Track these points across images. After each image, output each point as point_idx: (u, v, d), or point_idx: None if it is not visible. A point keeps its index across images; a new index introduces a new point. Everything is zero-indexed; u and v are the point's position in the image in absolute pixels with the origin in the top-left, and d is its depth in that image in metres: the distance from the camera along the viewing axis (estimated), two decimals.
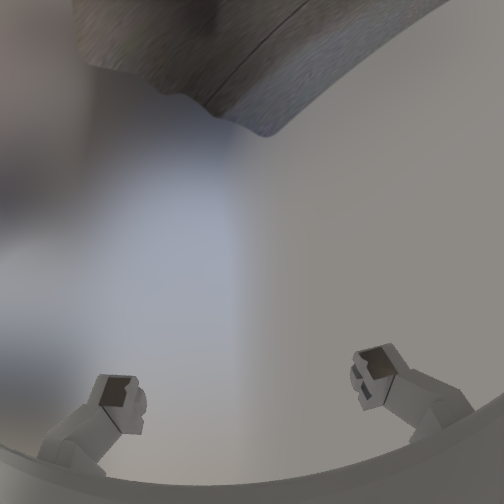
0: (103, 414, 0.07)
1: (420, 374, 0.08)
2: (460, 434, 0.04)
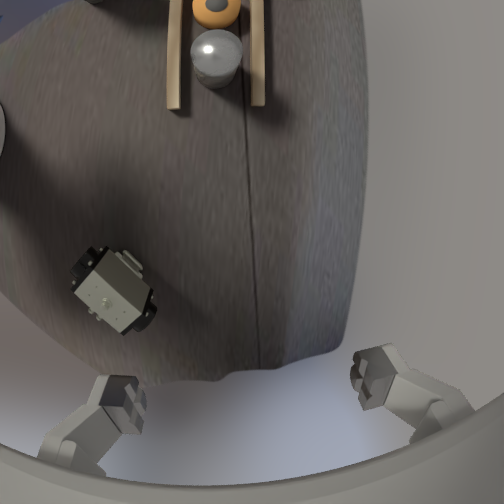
0: (103, 414, 0.07)
1: (420, 374, 0.08)
2: (460, 434, 0.04)
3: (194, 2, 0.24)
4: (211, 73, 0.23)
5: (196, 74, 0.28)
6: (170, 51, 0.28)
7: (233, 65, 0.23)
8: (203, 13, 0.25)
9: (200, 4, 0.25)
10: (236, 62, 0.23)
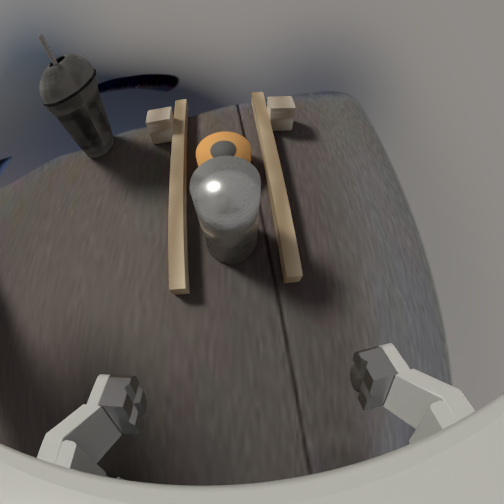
0: (103, 414, 0.07)
1: (420, 374, 0.08)
2: (460, 434, 0.04)
3: (197, 150, 0.30)
4: (220, 215, 0.19)
5: (205, 238, 0.25)
6: (172, 212, 0.28)
7: (250, 200, 0.19)
8: None
9: (204, 152, 0.30)
10: (254, 195, 0.19)
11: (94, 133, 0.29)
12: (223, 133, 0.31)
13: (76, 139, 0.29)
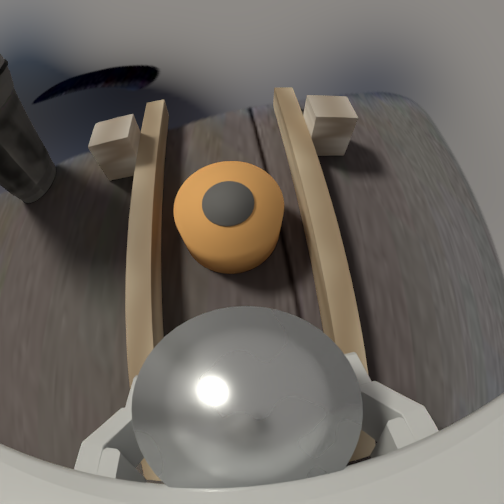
0: None
1: (381, 387, 0.07)
2: (460, 434, 0.04)
3: (177, 204, 0.15)
4: None
5: None
6: (133, 339, 0.13)
7: None
8: (200, 233, 0.15)
9: (190, 208, 0.15)
10: (341, 460, 0.05)
11: (15, 168, 0.15)
12: (228, 164, 0.16)
13: None
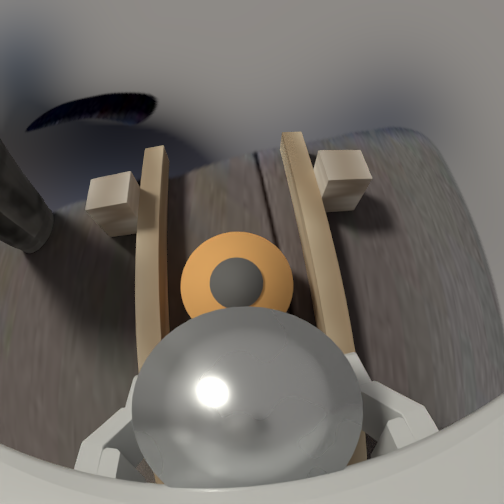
0: None
1: (381, 387, 0.07)
2: (460, 434, 0.04)
3: (184, 282, 0.15)
4: None
5: None
6: None
7: None
8: None
9: (198, 288, 0.15)
10: (341, 461, 0.05)
11: (10, 225, 0.15)
12: (235, 236, 0.16)
13: None
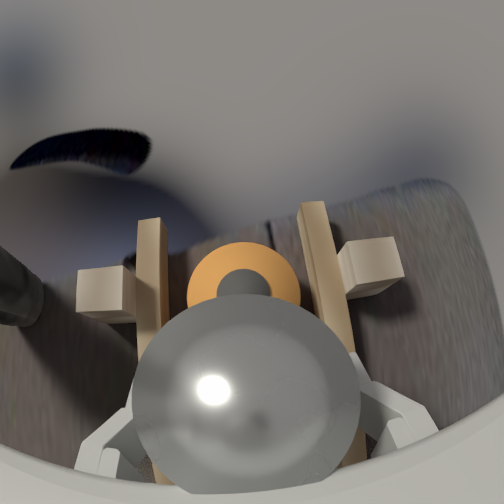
0: None
1: (382, 387, 0.07)
2: (460, 434, 0.04)
3: (191, 291, 0.15)
4: None
5: None
6: None
7: (330, 463, 0.05)
8: None
9: (204, 298, 0.15)
10: (341, 447, 0.05)
11: None
12: (244, 247, 0.16)
13: None
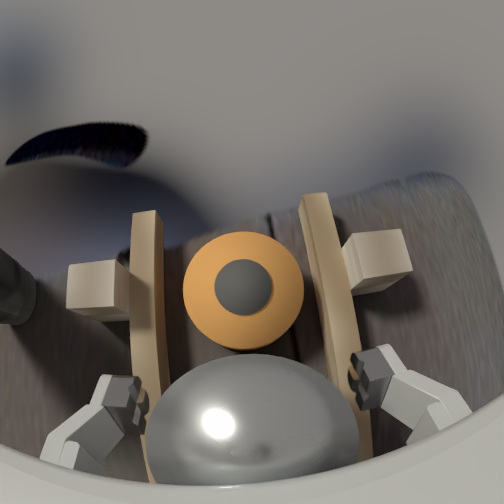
0: (106, 414, 0.07)
1: (417, 375, 0.08)
2: (460, 434, 0.04)
3: (187, 282, 0.14)
4: None
5: None
6: None
7: None
8: (211, 320, 0.13)
9: (201, 290, 0.14)
10: None
11: None
12: (245, 236, 0.15)
13: None
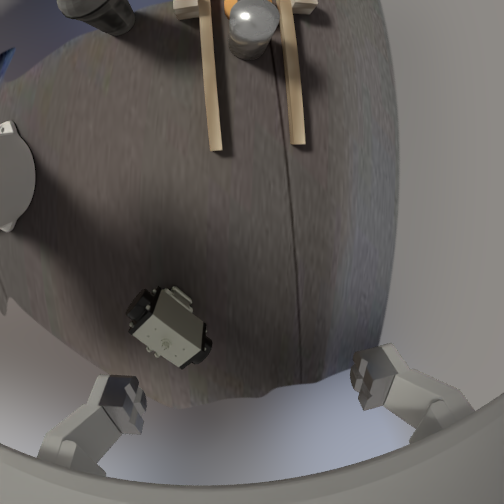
0: (103, 414, 0.07)
1: (420, 374, 0.08)
2: (460, 434, 0.04)
3: None
4: (251, 35, 0.22)
5: (231, 43, 0.27)
6: (207, 90, 0.31)
7: (272, 28, 0.22)
8: None
9: (232, 1, 0.25)
10: (275, 25, 0.22)
11: (120, 21, 0.23)
12: None
13: (100, 29, 0.23)
